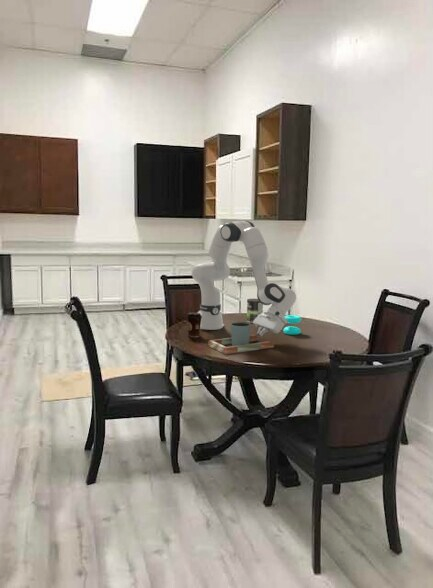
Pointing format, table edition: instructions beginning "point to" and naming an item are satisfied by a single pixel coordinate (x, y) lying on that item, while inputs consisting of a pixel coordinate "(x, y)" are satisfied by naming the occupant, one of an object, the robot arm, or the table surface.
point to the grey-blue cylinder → (240, 333)
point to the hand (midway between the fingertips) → (258, 334)
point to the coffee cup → (193, 324)
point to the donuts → (291, 329)
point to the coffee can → (253, 309)
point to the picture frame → (219, 344)
